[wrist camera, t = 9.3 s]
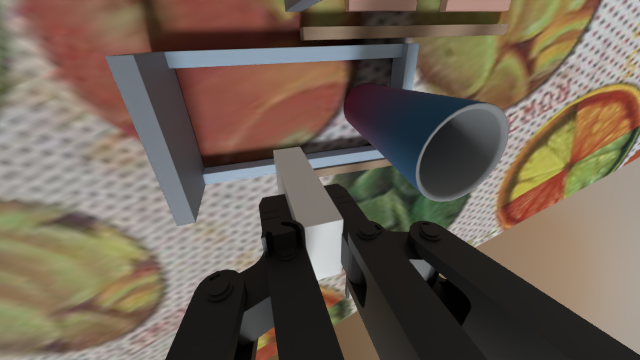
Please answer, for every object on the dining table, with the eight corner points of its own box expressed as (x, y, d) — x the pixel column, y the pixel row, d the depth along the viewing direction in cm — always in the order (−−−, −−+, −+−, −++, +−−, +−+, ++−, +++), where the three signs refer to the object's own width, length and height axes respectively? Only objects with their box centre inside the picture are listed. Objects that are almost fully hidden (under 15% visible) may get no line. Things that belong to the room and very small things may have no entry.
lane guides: (307, 172, 30) (310, 178, 29) (284, -241, 15) (288, -269, 14) (459, 148, 35) (468, 153, 34) (554, -177, 20) (576, -193, 19)
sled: (193, 179, 26) (177, 225, 20) (150, 52, 20) (104, 56, 13) (390, 150, 32) (430, 179, 25) (404, 43, 25) (462, 43, 19)
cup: (373, 60, 26) (499, 76, 13) (398, 109, 29) (516, 158, 17) (324, 102, 26) (398, 156, 14) (355, 145, 30) (436, 217, 17)
